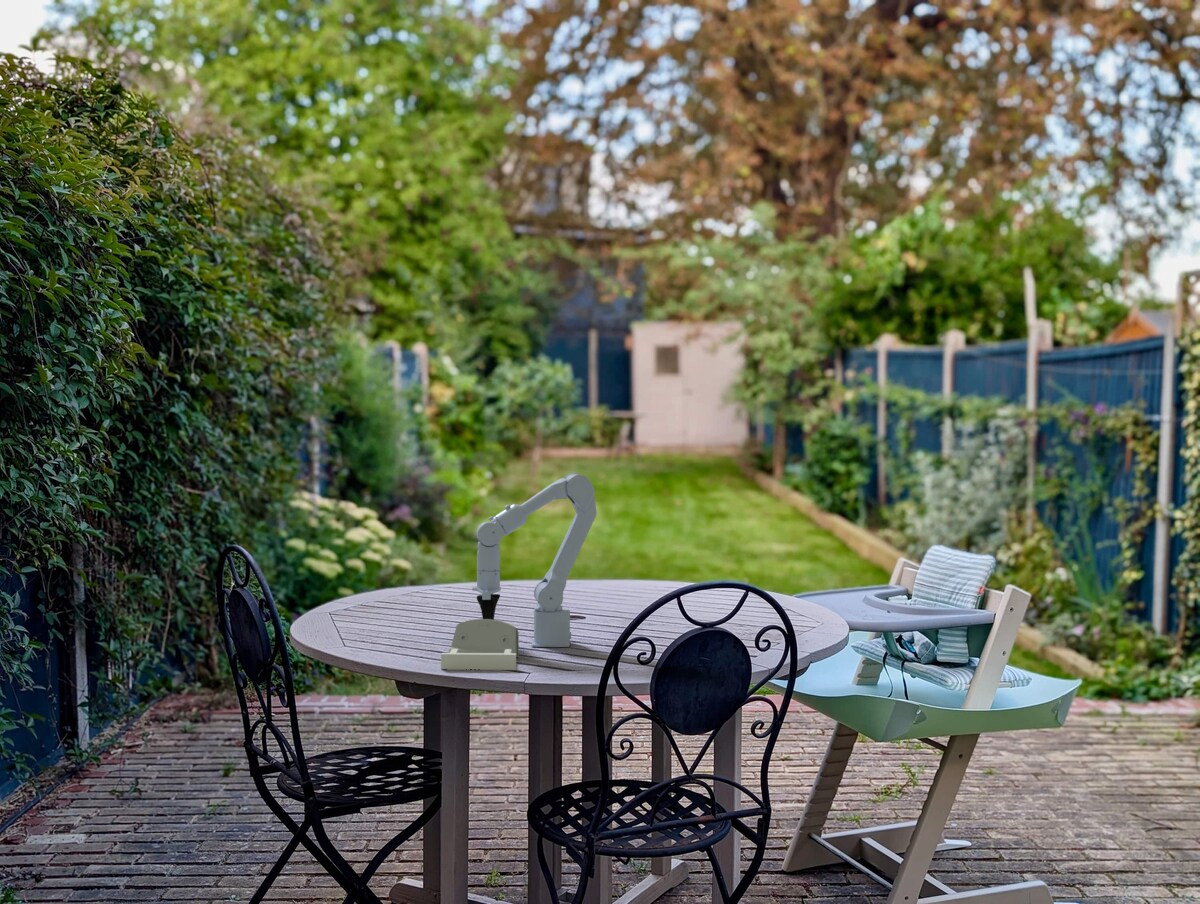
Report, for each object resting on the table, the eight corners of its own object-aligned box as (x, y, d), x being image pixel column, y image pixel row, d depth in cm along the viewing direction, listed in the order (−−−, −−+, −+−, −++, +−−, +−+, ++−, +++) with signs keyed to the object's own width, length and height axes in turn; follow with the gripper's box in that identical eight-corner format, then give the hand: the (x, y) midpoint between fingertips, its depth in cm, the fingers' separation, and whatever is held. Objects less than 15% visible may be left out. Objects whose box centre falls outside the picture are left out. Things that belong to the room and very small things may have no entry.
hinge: (446, 657, 270) (452, 615, 273) (453, 659, 274) (458, 619, 277) (513, 661, 265) (518, 619, 268) (519, 664, 270) (523, 622, 273)
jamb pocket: (517, 661, 265) (517, 647, 265) (515, 670, 257) (515, 654, 256) (445, 661, 265) (445, 646, 265) (440, 669, 256) (441, 654, 256)
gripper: (474, 566, 289) (474, 618, 290) (469, 573, 275) (469, 629, 275) (502, 566, 290) (502, 618, 290) (498, 574, 275) (498, 629, 276)
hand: (488, 623), depth 283 cm, fingers closed
